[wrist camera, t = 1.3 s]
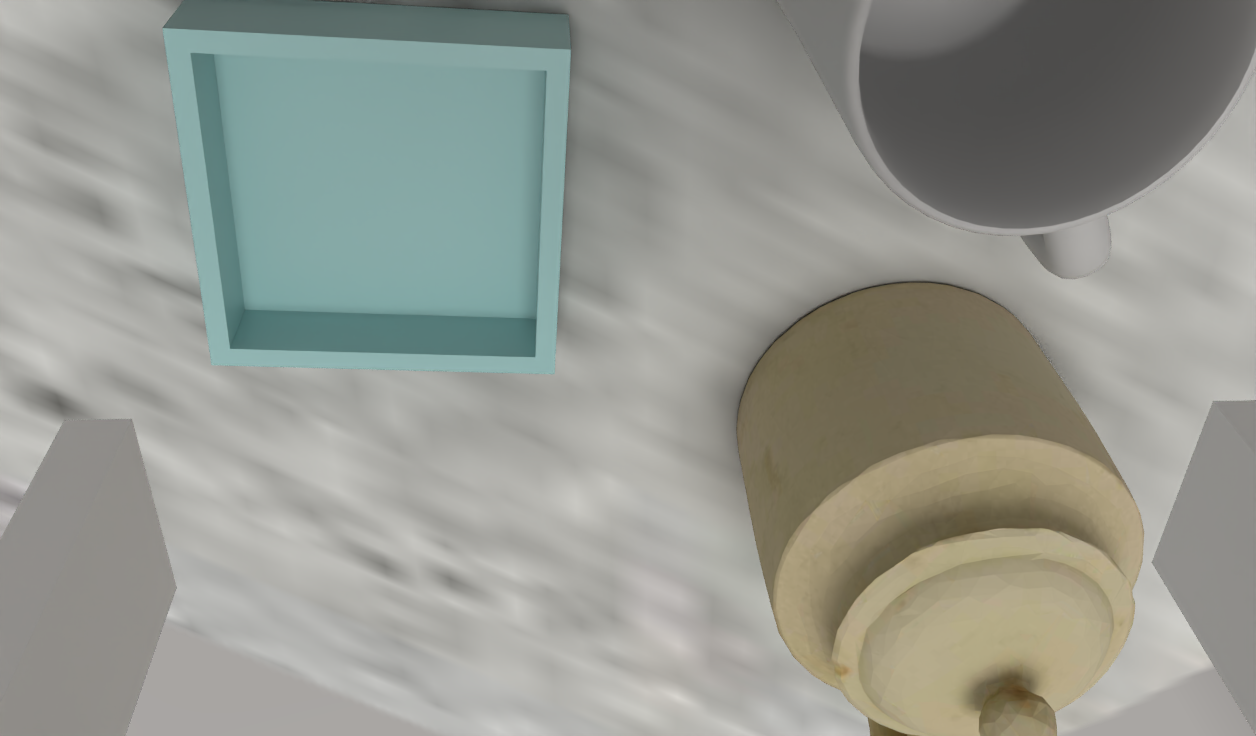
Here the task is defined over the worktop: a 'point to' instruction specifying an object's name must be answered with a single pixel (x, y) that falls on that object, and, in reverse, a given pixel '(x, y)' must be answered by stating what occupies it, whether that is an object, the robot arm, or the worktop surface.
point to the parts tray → (373, 181)
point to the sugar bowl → (936, 514)
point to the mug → (1030, 104)
